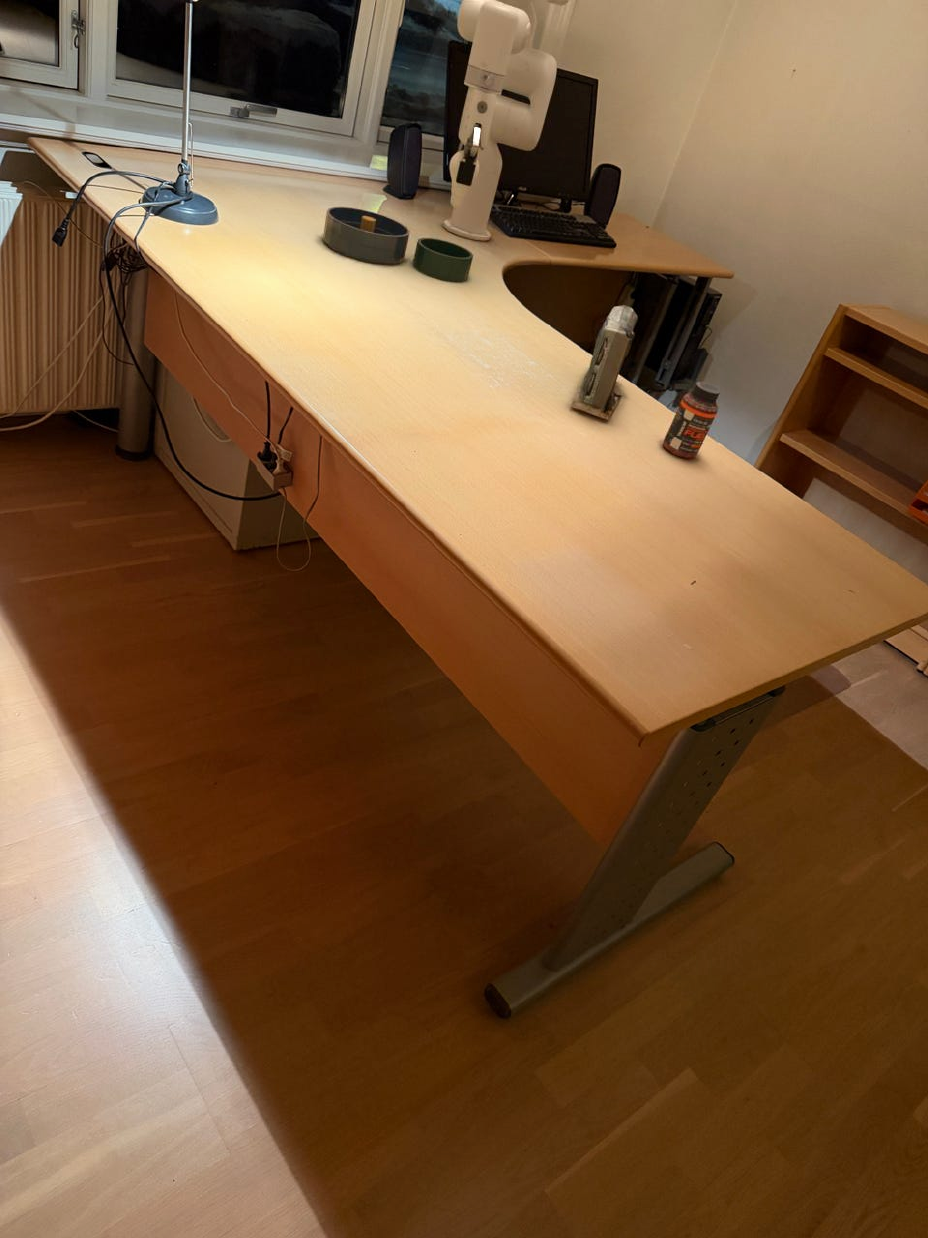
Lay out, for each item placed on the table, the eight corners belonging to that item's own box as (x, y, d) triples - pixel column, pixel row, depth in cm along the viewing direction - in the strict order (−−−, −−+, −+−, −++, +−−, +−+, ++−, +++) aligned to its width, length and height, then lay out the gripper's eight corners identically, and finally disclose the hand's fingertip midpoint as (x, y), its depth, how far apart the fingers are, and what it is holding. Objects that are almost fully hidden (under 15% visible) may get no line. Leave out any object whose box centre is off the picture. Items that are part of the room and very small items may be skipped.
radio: (592, 369, 158) (620, 291, 149) (634, 386, 157) (665, 308, 148) (558, 405, 140) (588, 318, 131) (606, 424, 138) (639, 337, 129)
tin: (410, 256, 187) (415, 233, 184) (464, 269, 190) (469, 246, 187) (414, 273, 177) (419, 249, 174) (470, 286, 180) (476, 263, 178)
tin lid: (333, 231, 185) (337, 202, 181) (392, 246, 188) (398, 217, 184) (333, 249, 174) (337, 218, 171) (395, 263, 178) (401, 234, 174)
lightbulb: (465, 214, 173) (479, 157, 167) (438, 205, 174) (450, 147, 167) (471, 210, 178) (485, 153, 172) (444, 201, 178) (457, 144, 172)
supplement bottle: (675, 459, 134) (704, 394, 127) (655, 440, 138) (682, 376, 131) (703, 460, 137) (733, 396, 130) (682, 442, 141) (711, 379, 134)
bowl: (323, 229, 186) (327, 200, 183) (401, 247, 191) (407, 220, 187) (321, 252, 172) (326, 221, 169) (406, 271, 177) (412, 242, 173)
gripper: (509, 92, 156) (484, 194, 167) (496, 80, 170) (473, 175, 180) (471, 81, 155) (448, 185, 165) (460, 69, 168) (439, 166, 178)
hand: (461, 179), depth 173 cm, fingers closed on lightbulb, 6 cm apart
